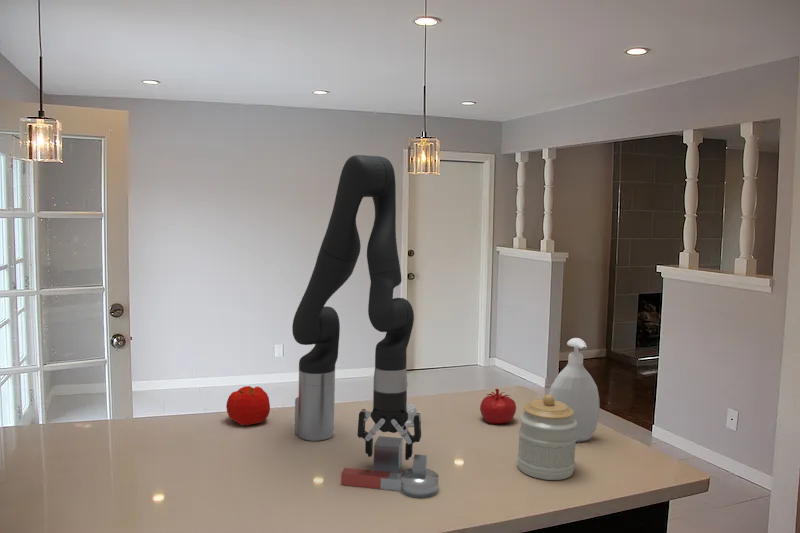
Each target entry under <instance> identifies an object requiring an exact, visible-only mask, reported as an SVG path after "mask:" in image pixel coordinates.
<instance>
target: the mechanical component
mask: <svg viewBox="0 0 800 533" xmlns="http://www.w3.org/2000/svg"><path fill="white" fill-rule="evenodd" d="M406 409H407V413H408V414H416V413H417V406H415V404H410V403H407V408H406ZM405 425H406V427H407V428H409V427H414V424H412V423H411V421H410V420H409V419H408V420H407V421H406V423H405Z"/></svg>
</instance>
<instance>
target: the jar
mask: <svg viewBox="0 0 800 533" xmlns="http://www.w3.org/2000/svg"><path fill="white" fill-rule="evenodd" d="M522 409H523V410H524V412H523V411H522V413H520V415H519V417H518V418H519V419H518V420H519V421H520V422H521V423H520V424H521V425H520V428H518V435H519V436H518V449H517V450H518V451H517V454H516V455H517V459H516V461H517V467H518V469H519V470H520V471H521V472H522V473H523V474H525V475H527V476H530V477H533V478H536V479H539V480H545V481H546V480H547V481H560V480H565V479H568V478H570V477H571V476H573V474H574V470H575V468H576V466H575V465H576V461H575V459H576V458H575V456H576V453H575V452H576V442H575V441H576V438H577V437H576V435H575V432H574V428H575V427H576V426H577V421H576V420H575V419H574V418H573V417H572V416H573V415H574V411H573V410H572V409H571V408H570V407H568V406H567V405H566V404H565V403H563V402H560V401H556V400H555V398H554V397H553V396H552V395H550V394H549V393H548V394H545V395H544V396H543V397H542V398H540V399H533V400H531V401H530V402H528V403H526V404H524V405H523V407H522Z"/></svg>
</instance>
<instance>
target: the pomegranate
mask: <svg viewBox="0 0 800 533" xmlns="http://www.w3.org/2000/svg"><path fill="white" fill-rule="evenodd" d="M504 393H505V392H500V389H499V388H495V392H494V391H492V392H491V393H488V394H487V393H486V394H485V395H486V396H484V398H483V399H482V401H481V402H480V406H479V411H480V414H481V417H482V418H483V420H484V421H486V423H489V424H491V425H493V424H494V425H495V424H497V425H500V424H501V425H502V424H503V425H504V424H508V423H510V422H512V420H513V419H514V416H515V414H516V411H517V405H516V402H515V401H514V399H512V398H511V397H512V396H511V395H509V394H504ZM503 394H504V395H503Z"/></svg>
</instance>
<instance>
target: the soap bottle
mask: <svg viewBox="0 0 800 533" xmlns="http://www.w3.org/2000/svg"><path fill="white" fill-rule="evenodd" d="M566 345H567V346H568V347H573V351H570V352H569V354H568V357H567V358H568V361H567V364H566V365H565V367H564V368H563V369H562V370H561V371H560V372H559V373H558V375H557V376H556V378H555V379H554V381H553V382H552V384H551V386H550V390H549V392H548V394H550V395H552V396H553V397H554V398H555V400H556V401H560V402H563V403H565V404H566V405H567V406H568V407H570V408H571V409H572V410H573V411H574V415H573V416H572V417H573V418H574V419H575V420H576V421H577V426H576V427H575V428H574V432H575V435H576V437H577V438H576V441H575V443H578V442H586V441H588V440H590V439H591V438H592V437H593V434H594V433H595V432H596V430H597V426H598V423H599V419H600V410H601V409H600V396H599V390H598V389H599V388H598V386H597V384H596V382H595V380H594V378H593V377H592V375H591V374H590V373H589V372H588V370H587V369H586V368H585V367H584V354H582V352H580V351H579V349H581V350H587V349H588V346H587V343H586V342H585V341H584V340H583V339H582V338H579V337H573V338H570V339H569V340H568V341H567V342H566Z"/></svg>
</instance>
